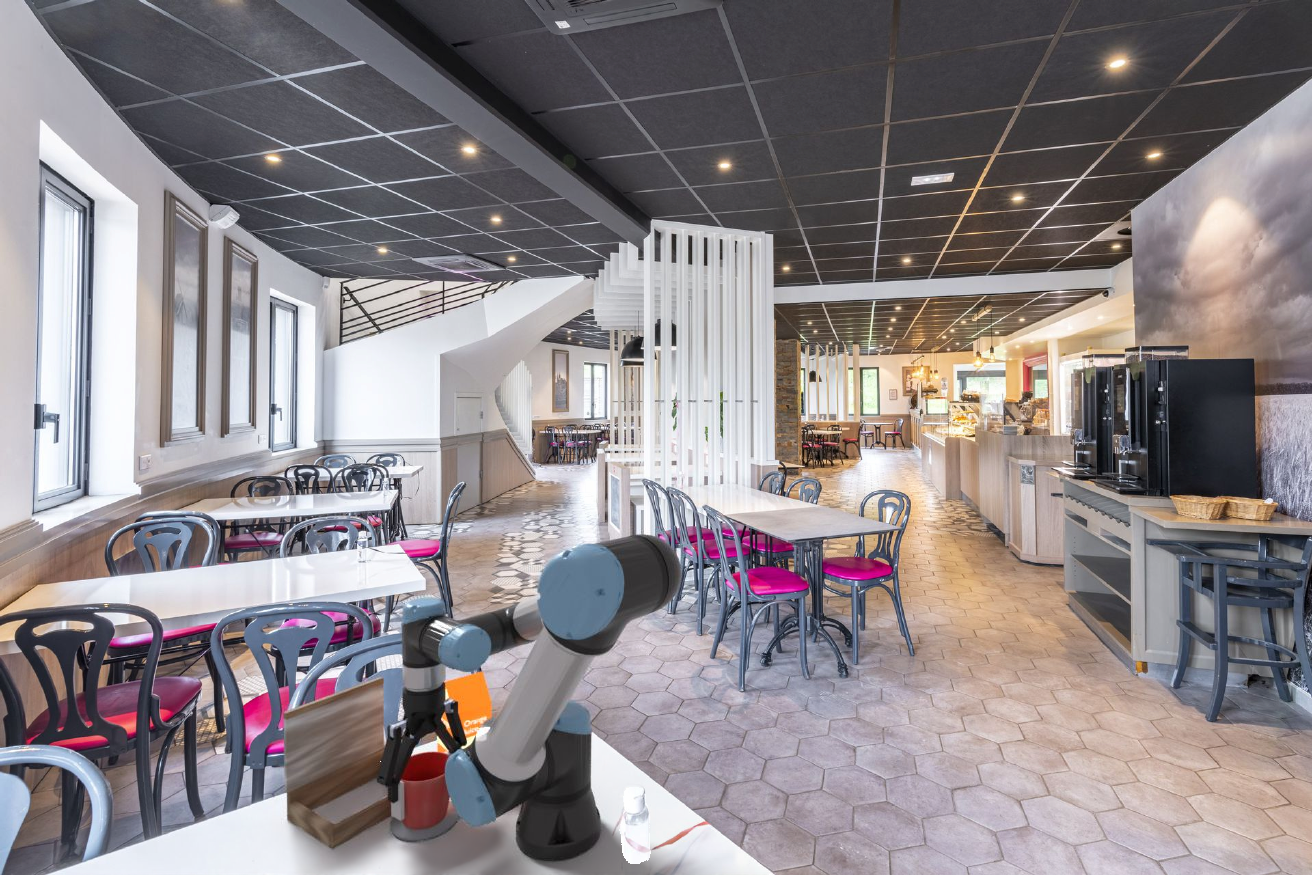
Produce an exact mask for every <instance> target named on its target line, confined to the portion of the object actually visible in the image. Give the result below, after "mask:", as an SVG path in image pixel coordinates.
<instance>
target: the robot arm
mask: <svg viewBox="0 0 1312 875" xmlns="http://www.w3.org/2000/svg"><path fill="white" fill-rule="evenodd" d="M682 572H683V571H682V565H681V561H680V558H679V557H678V555H677V552H676V551H675V550H674V549H673V547H672V546H671V545H670V544H669V543H668V542H667V541H665V540H663V539H661V538H660V537H658V536H654V535H652V534H651V535H650V534H640V533H639V534H632V535H629V536H625V537H624V536H623V537H620V538H619V537H618V538H614V539H610V540H605V541H601V542H596V543H582V544H579V545H575V546H573V547H572V548H569V549H565V550H563V551H561V552H559V553H557V554H555V555H554V556H553V557H552V558H551V559H550V560H548V562H547V563H546V565H544V567H543V570H542V571H541V573H540V576H539V579H538V583H537V589H536V592H537V594H535V595H532V596H530V597H528V598H525V599H524V600H521V601H519V602H516V603H514V604H511V605H509V606H506V607H503V608H500V609H497V610H493V611H489V612H485V613H481V614H478V615H474V616H471V617H466V618H463V619H455V618H452V617H449V616H446V614H447V609H446V603H445V601H444V599H441V598H439V597H432V596H431V597H428V596H427V597H420V598H416V599H411V600H409V601H407V602H406V603H405V604H404V605H403V607H402V619H401V624H400V626H401V652H402V653H401V654H402V655H401V656H402V658H401V659H402V664H401V666H402V686H403V687H402V691H401V692H402V696H401V697H402V699H401V700H402V702H401V703H402V705H401V706H402V709H403V712H404V713H403V718H402V720H401V721H399V722H397V723H392V722H391V723H388V725H387V726H386V727H387V728H386V729H387V731H386V732H387V737H386V738H387V739H386V742H385V744H384V748H385V749H384V753H383V757H382V761H381V765H380V769H379V772H378V776H377V778H376V782H377V783H378V784H380V785H382V786H383V787H386V788H387V796H388V800H389V801H390V802H391V816H390V817H392V818H393V817H395V818H396V819H398V820H400V821H401V820H403V819H404V782H402V781H401V778H402V776H403V774H404V771H405V769H406V767H407V764H408V762H409V760H410V757H411V756H412V755H413V752H414V749H415V748H416V746H417V745H418V744H419V743H420V741H421V739H423V738H424V737H426V736H427V735H429V734H433V733H435V735H436V737H437V736H438V737H439V739H440V740H441V742H442V743H443V744H444V746H445V747H446V749H447V750H448V752H447V751H446V752H444V753H446V754H449V755H450V757H449V758H448V760H447V762H446V766H445V780H446V785H447V790H448V793H449V796H450V799H449V800H450V801H451V802H452V804H453V806H454V808H455V810H456V811H457V813H458V814H459V818H461V819H462V821H463V822H464V823H466V824H468V825H469V826H471V827H474V828H480V827H482V826H484V825H488V824H489V823H492V822H496V820H497V819H498V818H500V817H501V816H503V815H505V814H507V813H509V812H510V811H512V810H514V809H515V808H517V807H519V806H520V809H519V813H518V816H517V819H516V823H515V841H516V844H517V846H518V849H520V850H521V851H522V852H523V853H524V854H526V855H527V856H530V857H531V858H535V859H538V860H544V861H562V860H568V859H572V858H574V857H576V856H579V855H582V854H583V853H585V852H587V851H588V850H590V849H592V848H593V846H594V845H595V844H596V843H597V842H598V840H599V838H600V836H601V831H602V825H601V824H602V822H601V821H602V820H601V813H600V810H599V809H598V807H597V805H596V804H597V803H596V799H595V796H594V793H593V790H592V733H593V729H592V726H591V724H592V723H591V713H590V710H588V708H587V707H586V706H585V705H583V704H581V703H579V702H576V701H574V700H571V698H572V696H573V695H574V693H575V692H576V690H577V689H578V686H579V685H580V682H582V679H583V678H584V677H585V675H586V673H587V671H588V670H589V668H590V666H591V664H592V662H593V661H594V659H595V658H596V657H600V656H603V655H606V654H607V653H609V652H610V651H611V650H612V648H613V647H614V646H615V644H616V643H617V642H618V640H619V638H620V637H621V635H622V633H623V631H624V629H625V627H627V625H628V624H629V623H630V622H631V621H633V620H636V619H639V618H642V617H645V616H647V615H650V614H652V613H655V612H657V611H659V610H661V609H663V608H664V607H666V606H667V605H668V604H670V603H671V602H672V600H673V599H674V598H675V597H676V595H677V593H678V591H679V589H680V586H681V582H682V576H683V574H682ZM533 642H535V643H534V645H533V646H532V648H531V650H530V652H529V654H528V656H527V658H526V660H525V661H524V664H523V665H522V667H521V669H520V671H519V673H518V675H517V677H516V678H515V680H514V682H513V684H512V687H511V688H510V690H509V692H508V694H507V696H506V698H505V700H504V702H503V704H502V705H501V707H500V709H499V711H498V713H497V714H496V715H492V717H491V718H489V719H488V720H486V721H485V722H484V723H483V724H482V726H481V727H480V728H479V730H478V732H477V734H476V736H475V738H474V740H473V741H472V743H471V744H470V745H469V746H468V747H466V748H464V749H462V748H461V747H462V746H466V744H467V739H466V736H465V732H464V729H463V726H462V723H461V719H460V716H459V713H458V702H457V701H455V700H452V699H449V698H447V699H446V684H445V682H446V678H447V672H446V671H447V670H446V667H447V668H449V669H451V670H456V671H459V672H463V673H471V672H475V671H477V670H479V668H480V667H481V666H483V664H485V663H486V662H487V660H488V659H489V657H490V656H494V655H496V654H499V653H501V652H505V651H508V650H510V649H514V648H517V647H521V646H523V645H527V644H532V643H533ZM445 700H446V701H445ZM444 712H445V714H446V717H447V720H448V724H449V727H450V730H451V733H452V736H453V737H452V736H451V734H450V733H449V732H448V730H447V729H446V726H445V724H444V723H443V721H442V720H441V719H442V716H443V714H444ZM411 736H412V737H413V738H412V737H411ZM394 775H395V776H394Z"/></svg>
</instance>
